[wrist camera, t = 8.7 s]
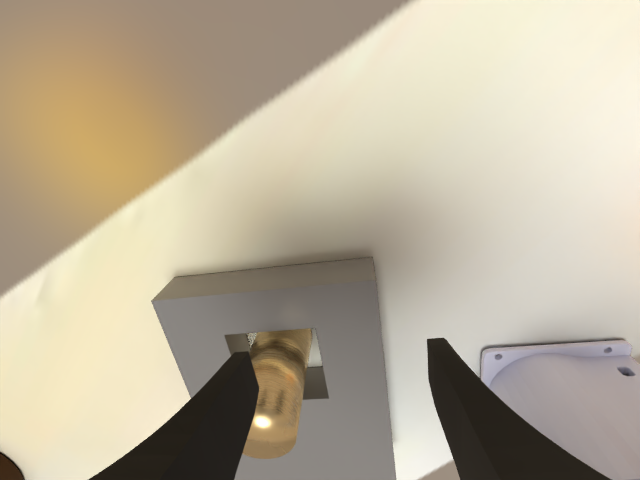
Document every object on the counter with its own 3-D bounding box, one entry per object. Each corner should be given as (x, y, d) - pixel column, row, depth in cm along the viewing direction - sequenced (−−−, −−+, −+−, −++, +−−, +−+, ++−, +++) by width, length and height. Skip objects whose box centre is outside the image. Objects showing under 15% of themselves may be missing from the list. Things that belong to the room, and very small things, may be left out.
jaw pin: (310, 312, 24) (293, 407, 16) (313, 355, 25) (298, 460, 18) (256, 311, 24) (215, 404, 17) (261, 354, 26) (227, 456, 18)
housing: (372, 257, 22) (375, 279, 19) (391, 444, 28) (396, 481, 26) (174, 277, 23) (151, 301, 21) (237, 448, 30) (225, 483, 27)
